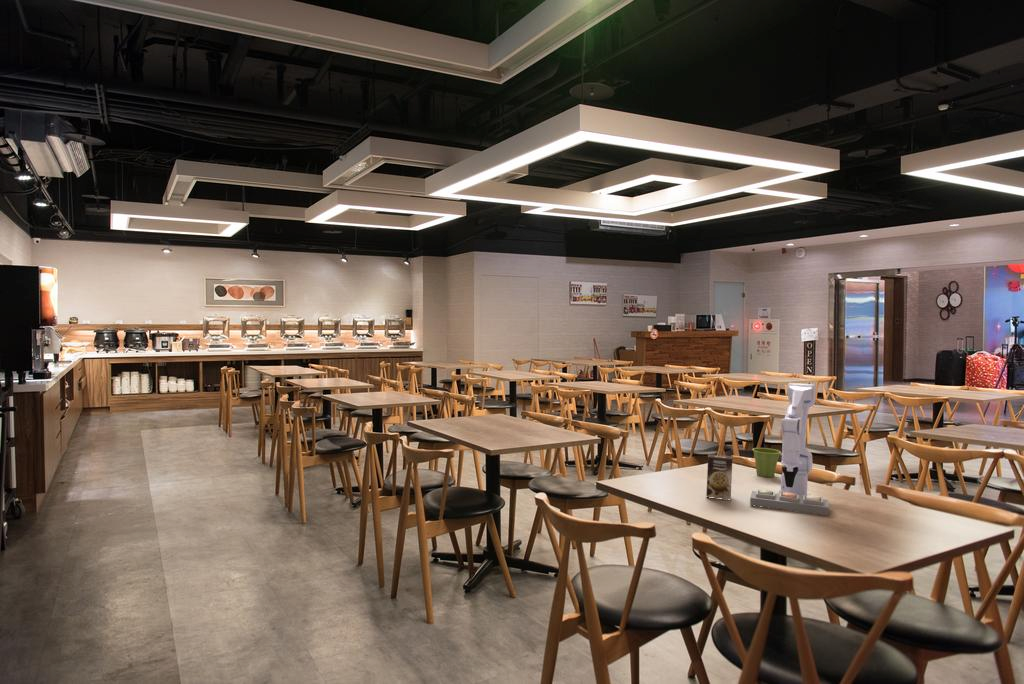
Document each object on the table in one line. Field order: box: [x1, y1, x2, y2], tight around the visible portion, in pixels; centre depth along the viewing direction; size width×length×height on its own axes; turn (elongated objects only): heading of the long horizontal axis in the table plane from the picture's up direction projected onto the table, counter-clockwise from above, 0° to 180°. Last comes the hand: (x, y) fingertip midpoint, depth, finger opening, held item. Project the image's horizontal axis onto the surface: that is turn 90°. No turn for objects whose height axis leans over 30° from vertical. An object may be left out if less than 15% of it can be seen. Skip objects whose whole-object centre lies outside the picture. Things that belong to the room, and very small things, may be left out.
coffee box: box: [705, 453, 733, 500], centre depth 245 cm, size 9×6×16 cm
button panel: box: [749, 489, 830, 517], centre depth 234 cm, size 26×11×4 cm, turn 66°
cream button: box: [806, 494, 821, 501], centre depth 231 cm, size 4×4×2 cm
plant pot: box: [751, 447, 782, 478], centre depth 282 cm, size 12×12×11 cm
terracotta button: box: [782, 492, 796, 498], centre depth 234 cm, size 4×4×2 cm
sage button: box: [758, 489, 773, 495], centre depth 238 cm, size 4×4×2 cm
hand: (789, 486), depth 234 cm, fingers closed
